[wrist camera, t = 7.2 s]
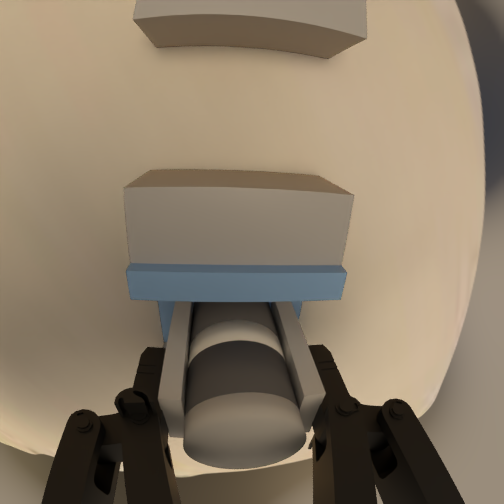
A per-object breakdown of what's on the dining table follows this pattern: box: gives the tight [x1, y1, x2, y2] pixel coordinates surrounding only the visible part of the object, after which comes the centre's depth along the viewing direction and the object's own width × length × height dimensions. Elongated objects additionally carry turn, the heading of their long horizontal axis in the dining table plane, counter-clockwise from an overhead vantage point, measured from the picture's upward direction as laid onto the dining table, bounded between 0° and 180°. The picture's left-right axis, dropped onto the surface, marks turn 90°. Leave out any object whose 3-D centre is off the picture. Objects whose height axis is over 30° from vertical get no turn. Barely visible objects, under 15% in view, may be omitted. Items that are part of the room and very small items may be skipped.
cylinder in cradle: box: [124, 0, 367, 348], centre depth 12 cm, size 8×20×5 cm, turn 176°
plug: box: [183, 302, 306, 469], centre depth 11 cm, size 4×4×8 cm
